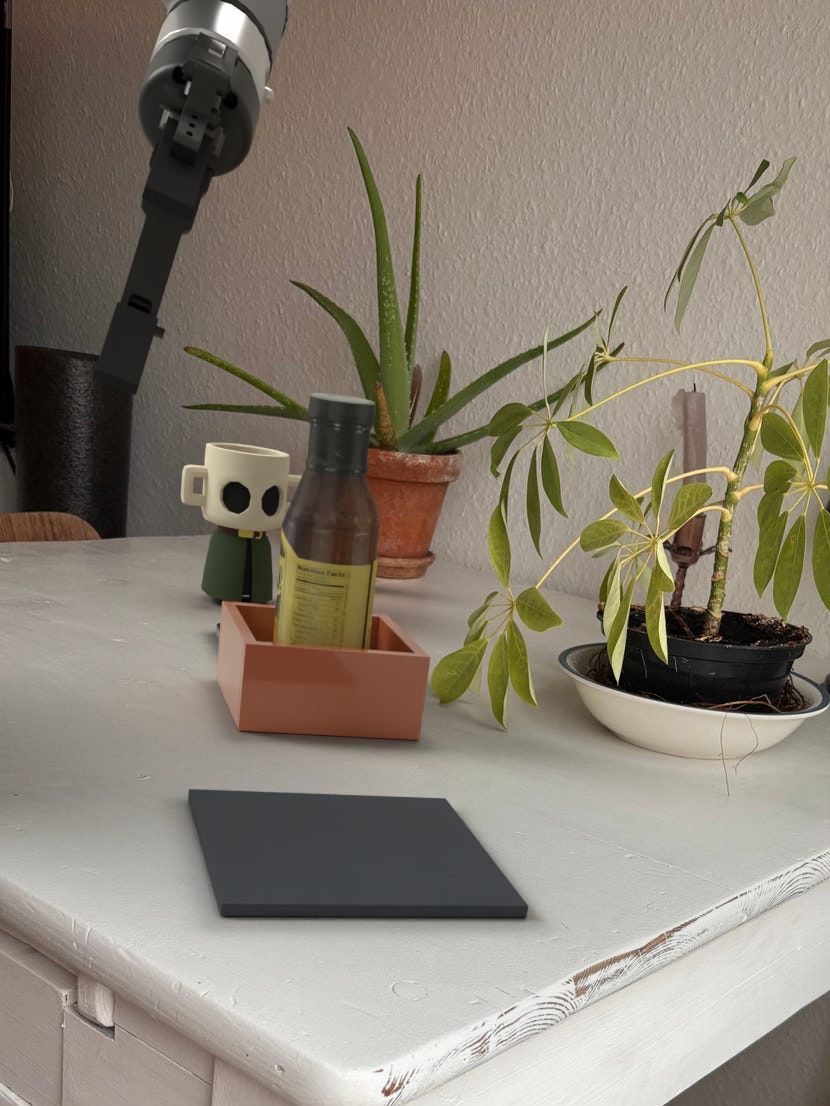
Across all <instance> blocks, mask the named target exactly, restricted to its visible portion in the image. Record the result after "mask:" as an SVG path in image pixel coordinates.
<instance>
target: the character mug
mask: <svg viewBox="0 0 830 1106" xmlns="http://www.w3.org/2000/svg"><path fill="white" fill-rule="evenodd" d="M290 459H291V457H290V454H289V453H286V452H283V451H280V450H278V449H277V450H276V449H272V448H267V447H261V446H256V445H250V444H243V443H235V442H234V443H233V442H207V443H206V445H205V452H204V465H200V464H187V465H183V469H182V471H181V487H180V499H181V503H182V504H184V505H187V506H194V507H195V506H196V507H201V512H202V517H203V518H204V520H206V521H208V522H209V523H212V524H214V525H216V526H217V529H214V531H213V532H212V534H211V536H210V540H209V542H208V543H209V544H208V549H207V553H206V558H205V563H204V566H203V567H204V568H203V573H202V579H201V585H200V588H201V591H203V592H204V593H205V594H206V595H207V596H208V597H210V598H214V599H217V600H218V601H230V602H243V601H242V599H243V596H248V601H249V603H254V604H265V603H268V602H271V601H273V596H274V595H273V593H274V591H273V589H274V581H273V580H274V576H273V557H272V545H271V542H270V539H269V536H268V534H267V532H269V531H270V532H271V531H274V530H277V529H281V528H282V522H283V520H284V518H285V515H286V513H287V510H288V508H289V506H290V503H291V502H289V501H287V499H288V487H294V488H295V490H296V489H297V487H298V484H299V482H300V480H301V477H302V476H299V475H300V474H289V473H290V465H291V464H290V463H291V460H290ZM194 478H203V480H202V494H201V493H194V491H193V490H194Z"/></svg>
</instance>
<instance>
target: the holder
mask: <svg viewBox="0 0 830 1106" xmlns="http://www.w3.org/2000/svg"><path fill="white" fill-rule="evenodd" d="M220 610H221V611H220V622H219V623H220V636H219V638H218V651H217V652H218V653H217V664H216V676H215V677H216V678H215V679H216V681H217V684H218V686H219V688H220V691H221V694H222V695H223V698H224V701H225V702H226V705H227V707H228V709H229V712H230V714H231V716H232V719H233V721H234V723H235V726H236V728H237V730H238V731H239V732H256V733H275V734H292V735H313V736H330V737H331V736H333V737H353V738H369V739H370V738H372V739H373V738H374V739H388V740H389V739H391V740H409V741H419V740H420V737H421V731H422V721H423V714H424V707H425V701H426V695H427V694H426V693H427V686H428V678H429V671H430V664H431V656H430V655H429V653H426V651H425V650H424V649H422V647H420V646H419V644H417V642H416V641H415V640H413V638H411V637H410V635H408V634H407V633H406V632H405V631H404V630H403V629H402V628H401V626H399V624H397V623H396V622H395V621H394V620H393V619H392V618H391V617H390V616H389V614H382V613H372V622H371V633H370V643H369V650H366V649H352V648H339V647H326V646H312V645H299V644H286V643H273V639H274V627H275V610H276V604H265V603H251V602H243V601H241V602H233V601H226V600H221V609H220Z"/></svg>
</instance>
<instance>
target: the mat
mask: <svg viewBox="0 0 830 1106" xmlns="http://www.w3.org/2000/svg"><path fill="white" fill-rule="evenodd" d="M188 804H189V807H190V810H191V814H192V818H193V821H194V825H195V829H196V832H197V835H198V839H199V843H200V847H201V850H202V854H203V857H204V861H205V865H206V868H207V872H208V875H209V879H210V882H211V886H212V890H213V893H214V897H215V900H216V905H217V908H218V911H219V915H220V916H221V917H355V918H356V917H358V918H359V917H366V918H367V917H368V918H369V917H372V918H373V917H377V918H378V917H379V918H380V917H381V918H383V917H384V918H389V917H390V918H392V917H394V918H395V917H396V918H405V917H406V918H410V917H411V918H527V917H528V911H529V905H528V904H527V902H526V901H525V900H524V899H523V897H522V895H520V893H519V892H518V890H517V889H516V888H515V886H514V885H513V884H512V883H511V881H510V880H509V879H508V877H507V876H506V875H505V874H504V872H503V871H502V870H501V868H500V867H499V866H498V865H497V863H496V861H494V859H493V858H492V857H491V856H490V854H489V853H488V852H487V851H486V849H485V848H484V846H483V845H482V844H481V842H480V841H479V840H478V838H477V837H476V836H475V835H474V833H473V832H472V831H471V830H470V828H469V827H468V825H467V824H466V822H465V821H464V820H463V819H462V818H461V816H460V815H459V814H458V812H457V811H456V810H455V808H454V807H453V806H452V805H451V803H450V802H449V801H448V799H447V798H445V797H420V796H419V797H418V796H394V795H393V796H392V795H368V794H367V795H366V794H365V795H364V794H363V795H362V794H340V793H339V794H337V793H311V792H307V793H306V792H284V791H283V792H281V791H257V790H231V789H229V790H228V789H227V790H226V789H201V788H198V789H197V788H189V789H188Z"/></svg>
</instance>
